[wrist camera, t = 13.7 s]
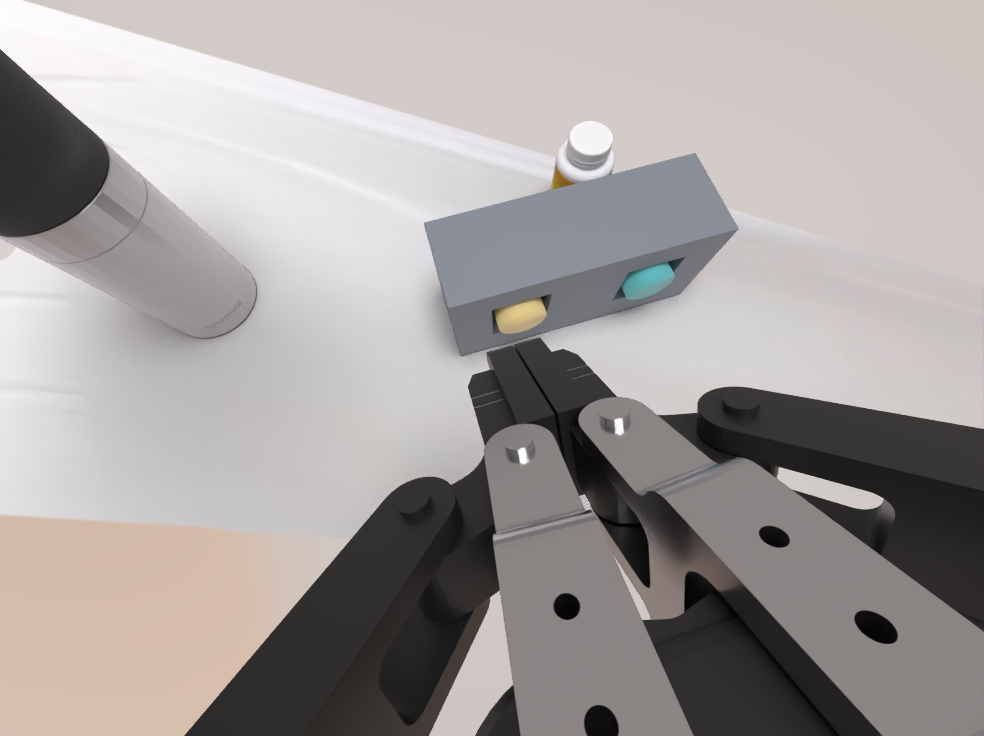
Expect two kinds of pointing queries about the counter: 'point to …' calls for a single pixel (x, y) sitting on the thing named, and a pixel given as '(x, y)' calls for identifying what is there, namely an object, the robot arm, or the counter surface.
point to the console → (576, 248)
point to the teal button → (647, 281)
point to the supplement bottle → (584, 155)
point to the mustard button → (520, 316)
